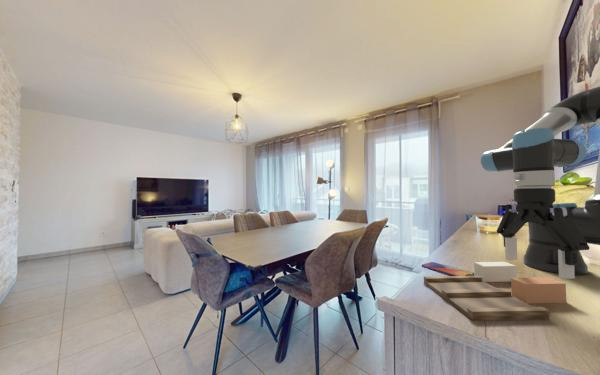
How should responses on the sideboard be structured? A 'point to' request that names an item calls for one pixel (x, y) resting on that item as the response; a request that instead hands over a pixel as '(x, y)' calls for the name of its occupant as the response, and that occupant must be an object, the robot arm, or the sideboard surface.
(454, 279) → the comb board
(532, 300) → the terracotta stub
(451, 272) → the smartphone
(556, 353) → the sideboard surface
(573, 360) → the sideboard surface
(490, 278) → the cream stub
